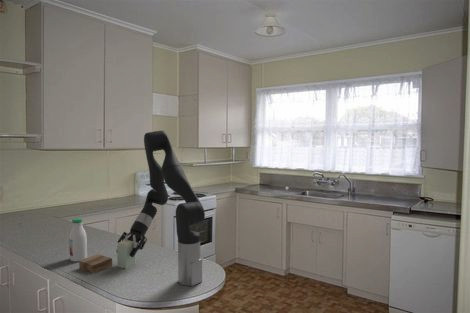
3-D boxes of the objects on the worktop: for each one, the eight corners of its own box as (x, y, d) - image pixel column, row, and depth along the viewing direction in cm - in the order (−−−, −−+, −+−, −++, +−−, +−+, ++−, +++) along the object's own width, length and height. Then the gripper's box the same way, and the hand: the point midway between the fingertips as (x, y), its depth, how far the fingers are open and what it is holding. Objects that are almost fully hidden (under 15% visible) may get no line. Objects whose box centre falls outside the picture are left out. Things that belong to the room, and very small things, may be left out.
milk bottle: (89, 256, 176) (88, 216, 174) (83, 262, 168) (82, 220, 166) (74, 256, 176) (72, 216, 174) (67, 262, 168) (65, 221, 166)
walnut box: (112, 266, 163) (111, 258, 163) (93, 274, 155) (93, 265, 155) (98, 262, 169) (98, 254, 168) (79, 269, 160) (79, 260, 160)
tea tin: (134, 264, 165) (134, 241, 164) (126, 268, 160) (125, 244, 159) (126, 262, 167) (125, 239, 167) (117, 266, 163) (117, 242, 162)
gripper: (126, 218, 173) (108, 248, 163) (148, 222, 166) (131, 253, 157) (135, 226, 178) (118, 255, 169) (156, 230, 171) (140, 261, 162)
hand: (124, 254), depth 163 cm, fingers open, 8 cm apart
